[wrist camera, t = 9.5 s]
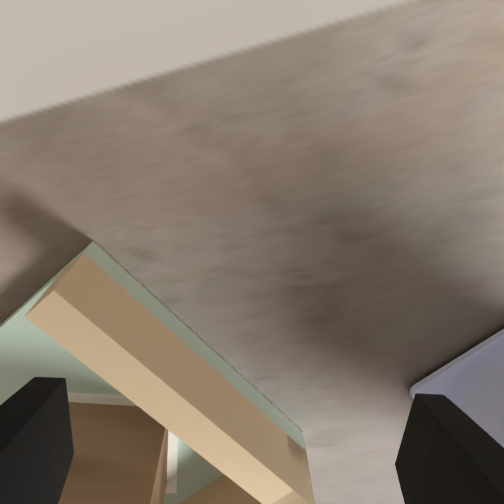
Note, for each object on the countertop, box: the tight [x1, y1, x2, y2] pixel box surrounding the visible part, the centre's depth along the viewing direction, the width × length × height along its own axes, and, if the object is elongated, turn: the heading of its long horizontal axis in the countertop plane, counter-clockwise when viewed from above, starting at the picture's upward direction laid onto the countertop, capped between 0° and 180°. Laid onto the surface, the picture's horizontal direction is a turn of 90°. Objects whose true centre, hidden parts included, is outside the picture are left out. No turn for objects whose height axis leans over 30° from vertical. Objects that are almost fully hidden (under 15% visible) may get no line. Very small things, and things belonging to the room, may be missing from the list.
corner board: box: [0, 241, 315, 504], centre depth 21 cm, size 14×19×4 cm
